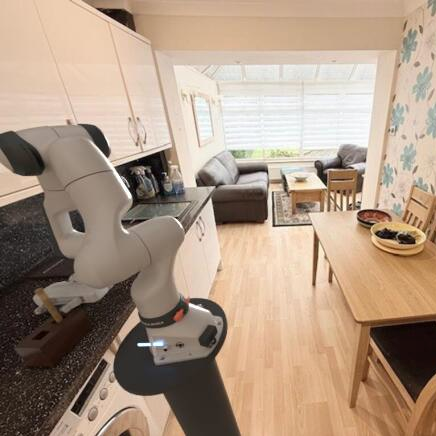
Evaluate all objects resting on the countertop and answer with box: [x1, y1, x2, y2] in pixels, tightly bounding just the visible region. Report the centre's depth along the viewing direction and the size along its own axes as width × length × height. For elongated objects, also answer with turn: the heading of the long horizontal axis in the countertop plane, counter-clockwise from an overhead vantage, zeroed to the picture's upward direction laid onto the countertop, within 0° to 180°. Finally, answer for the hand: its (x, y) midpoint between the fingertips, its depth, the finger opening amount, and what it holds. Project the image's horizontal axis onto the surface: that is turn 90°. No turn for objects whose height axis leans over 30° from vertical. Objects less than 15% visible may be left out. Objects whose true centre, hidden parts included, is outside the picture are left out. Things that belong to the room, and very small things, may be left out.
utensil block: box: [13, 308, 94, 368], centre depth 72 cm, size 8×14×8 cm, turn 176°
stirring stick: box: [34, 287, 64, 324], centre depth 72 cm, size 2×2×20 cm
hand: (50, 312), depth 70 cm, fingers open, 6 cm apart
